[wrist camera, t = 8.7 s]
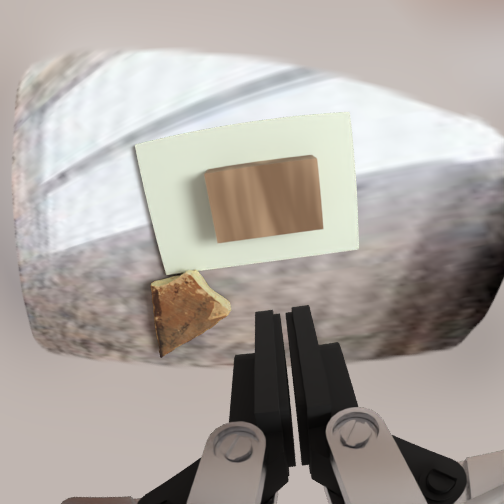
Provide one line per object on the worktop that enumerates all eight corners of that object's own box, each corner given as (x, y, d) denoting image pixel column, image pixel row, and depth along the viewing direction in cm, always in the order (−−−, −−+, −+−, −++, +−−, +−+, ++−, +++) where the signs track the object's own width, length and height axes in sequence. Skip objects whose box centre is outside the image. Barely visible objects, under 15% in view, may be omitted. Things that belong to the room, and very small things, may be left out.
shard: (162, 349, 36) (160, 360, 35) (114, 309, 33) (109, 319, 31) (233, 305, 34) (234, 316, 32) (183, 255, 30) (181, 265, 29)
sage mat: (347, 112, 26) (349, 112, 25) (356, 246, 31) (358, 249, 30) (136, 144, 27) (134, 144, 26) (167, 272, 32) (166, 274, 32)
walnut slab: (317, 158, 25) (204, 174, 25) (323, 229, 27) (217, 243, 27) (311, 154, 27) (208, 169, 27) (318, 219, 29) (220, 233, 30)
